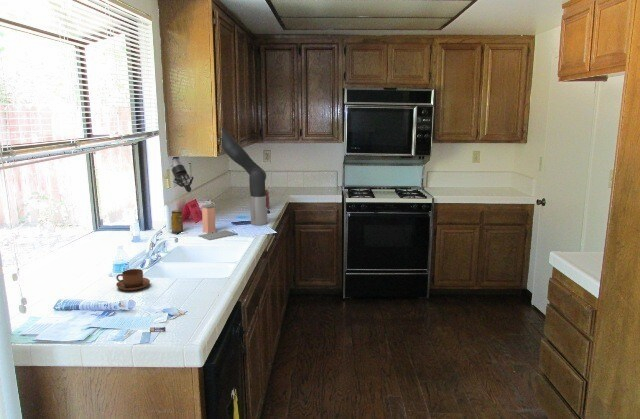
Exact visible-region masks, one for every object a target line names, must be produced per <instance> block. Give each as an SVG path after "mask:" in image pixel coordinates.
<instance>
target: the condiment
mask: <svg viewBox="0 0 640 419" xmlns="http://www.w3.org/2000/svg"><path fill="white" fill-rule="evenodd" d="M170 219H171V220H170V221H171V231H169V234H170V233H171V234H174V235H178V234H177V233H181V232H183V231H184V233H183V234H187V233H188V231H185V230H184V223H183V221H184V218H183V212H182V210H178V209H177V210H172V211H171V217H170Z"/></svg>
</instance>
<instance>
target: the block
mask: <svg viewBox="0 0 640 419" xmlns="http://www.w3.org/2000/svg"><path fill="white" fill-rule="evenodd" d="M201 211H202V212H201V214H202V216H201V217H202V218H201V219H202V232H203V233H204V234H208V233H212V232H213V233H214V232H217V231H216V205H213V204H204V205H201Z"/></svg>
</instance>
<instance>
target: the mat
mask: <svg viewBox="0 0 640 419" xmlns="http://www.w3.org/2000/svg"><path fill="white" fill-rule="evenodd" d="M235 233H236V234H237V235H238V233H237V232H233V231H230V230H227V229H224V230H220V231H219V230H218V231H216V232H213V233H204V234H199V235H197V237H198V236H199V238H201V237H202V239H205V240H207V241H208V240H209V241H212V240H218V239H222V238H227V236H228V237H231V235H232V236H235V235H234V234H235Z"/></svg>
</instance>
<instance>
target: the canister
mask: <svg viewBox="0 0 640 419" xmlns="http://www.w3.org/2000/svg"><path fill="white" fill-rule="evenodd" d="M265 191H266V208H267V210H269V209H270V191H269V188H268V187H267V186H265Z"/></svg>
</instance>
